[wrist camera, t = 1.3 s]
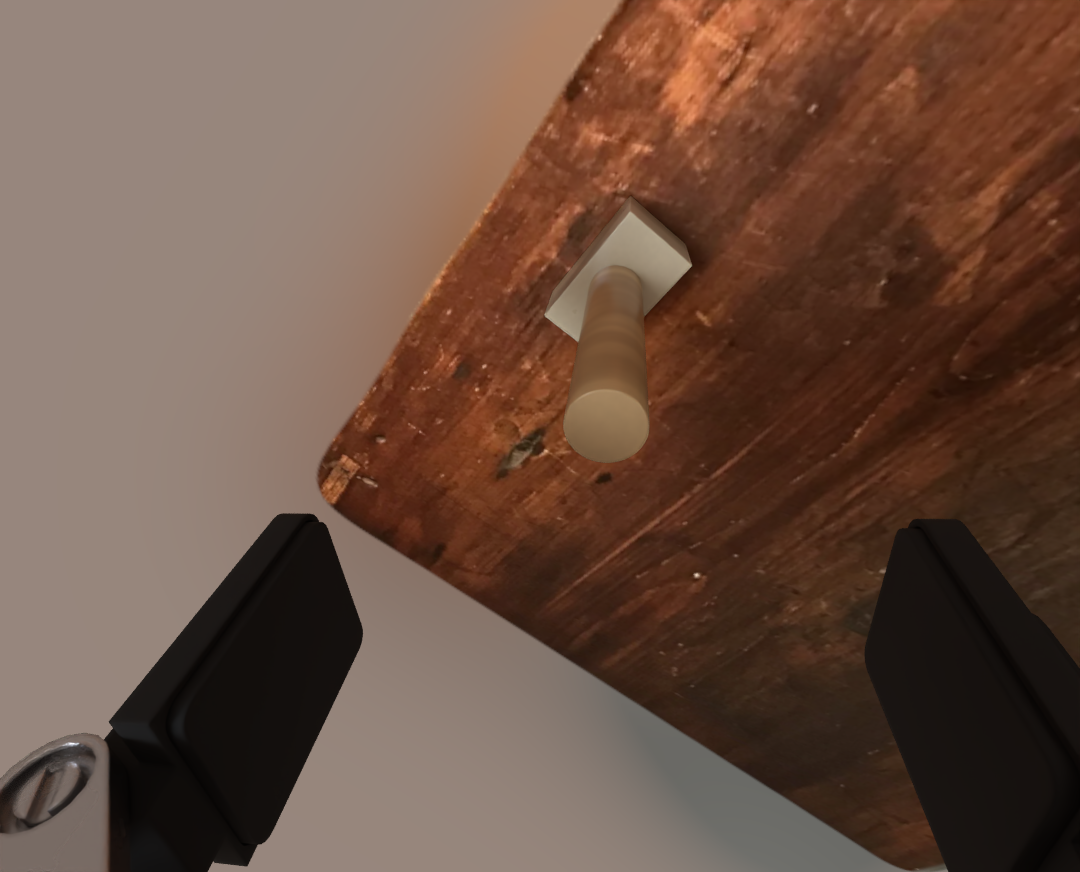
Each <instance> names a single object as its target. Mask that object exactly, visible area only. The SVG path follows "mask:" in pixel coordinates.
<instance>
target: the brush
mask: <svg viewBox="0 0 1080 872" xmlns="http://www.w3.org/2000/svg"><path fill="white" fill-rule="evenodd" d="M691 266H692V263H691V260H690V257H689V254H688V251H687V247H686V244H685V243H683V242H682V241H681V240H680V239H679V238H678V237H677V236H675V235H674V234H673V233H672V232H671V231H670V230H669V229H668V228H666V227H665V226H664V225H663V224H662V223H661V222H660V221H659V220H657V219H656V218H655V217H654V216H653V215H652V214H651V213H649V212H648V211H647V210H646V209H645V208H644V207H643V206H642V205H640V204H639V203H638V202H637V201H636V200H635V199H634V198H632V197H631V196H630V197H629V198H628V199H627V200H626V202H625V203H624V204H623V205H622V207H621V208H620V209H619V210H618V211H617V213H616V214H615V215H614V216H613V218H612V219H611V220H610V221H609V223H608V224H607V225H606V226H605V227H604V229H603V230H602V231H601V232H600V234H599V235H598V236H597V237H596V239H595V240H594V241H593V242H592V243H591V245H590V246H589V247H588V248H587V250H586V251H585V252H584V253H583V255H582V256H581V257H580V258H579V259H578V261H577V262H576V263H575V264H574V266H573V267H572V268H571V269H570V270H569V272H568V273H567V274H566V275H565V277H564V278H563V279H562V280H561V282H560V283H559V284H558V285H557V286H556V288H555V289H554V290H553V292H552V295H551V298H550V301H549V303H548V306H547V309H546V312H545V317H547V318H548V319H549V320H550V321H552V322H553V323H554V324H556V325H557V326H558V327H559V328H561V329H562V330H563V331H564V332H566V333H567V334H568V335H570V336H571V337H572V338H573V339H575V340H576V341H577V342H578V347H577V352H576V358H575V363H574V368H573V373H572V378H571V384H570V389H569V394H568V399H567V404H566V410H565V415H564V421H563V429H564V434H565V437H566V439H567V441H568V443H569V444H570V445H571V447H572V448H573V449H574V450H575V451H576V452H577V453H579V454H580V455H582V456H583V457H585V458H587V459H590V460H593V461H596V462H603V463H611V462H618V461H621V460H624V459H627V458H629V457H631V456H632V455H634V454H635V453H636V452H638V451H639V449H640V448H641V447H642V446H643V445H644V443H645V441H646V439H647V437H648V434H649V407H648V387H647V368H646V349H645V330H644V316H645V315H646V314H647V313H648V312H649V311H650V310H651V309H652V308H653V307H654V306H655V305H656V304H657V303H658V302H659V301H660V299H661V298H662V297H663V296H664V295H665V294H666V293H667V292H668V291H669V290H670V289H671V288H672V287H673V286H674V285H675V284H676V282H677V281H678V280H679V279H680V278H681V277H682V276H683V275H684V274H685V273H686V272H687V271H688V270H689V269H690V268H691Z"/></svg>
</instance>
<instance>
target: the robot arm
mask: <svg viewBox="0 0 1080 872" xmlns="http://www.w3.org/2000/svg"><path fill="white" fill-rule="evenodd" d="M362 637H363V629H362V625H361V622H360V619H359V616H358V613H357V610H356V608H355V605H354V602H353V599H352V596H351V593H350V591H349V588H348V585H347V582H346V579H345V577H344V574H343V571H342V568H341V565H340V562H339V559H338V556H337V554H336V551H335V548H334V545H333V542H332V539H331V536H330V534H329V531H328V528H327V526H326V525H325V524H324V523H323V522H319V520H318V519H317V517H316V516H315V515H313V514H279V515H277V516H276V517H275V518H274V519H273V520H272V521H271V523H270V524H269V525H268V526H267V528H266V529H265V530H264V531H263V532H262V534H261V535H260V536H259V537H258V539H257V540H256V541H255V542H254V544H253V545H252V546H251V547H250V549H249V550H248V551H247V552H246V553H245V555H244V556H243V557H242V558H241V560H240V561H239V562H238V563H237V564H236V566H235V567H234V568H233V569H232V571H231V572H230V573H229V574H228V576H227V577H226V578H225V579H224V581H223V582H222V583H221V584H220V585H219V587H218V588H217V589H216V590H215V592H214V593H213V594H212V595H211V597H210V598H209V599H208V600H207V601H206V603H205V604H204V605H203V606H202V608H201V609H200V610H199V611H198V612H197V614H196V615H195V616H194V617H193V619H192V620H191V621H190V622H189V624H188V625H187V626H186V627H185V628H184V630H183V631H182V632H181V633H180V635H179V636H178V637H177V638H176V640H175V641H174V642H173V643H172V645H171V646H170V647H169V648H168V649H167V651H166V652H165V653H164V654H163V656H162V657H161V658H160V659H159V661H158V662H157V663H156V664H155V665H154V667H153V668H152V669H151V670H150V672H149V673H148V674H147V675H146V676H145V678H144V679H143V680H142V682H141V683H140V684H139V685H138V686H137V688H136V689H135V690H134V691H133V692H132V694H131V695H130V696H129V697H128V699H127V700H126V701H125V702H124V704H123V705H122V706H121V707H120V709H119V710H118V711H117V712H116V713H115V715H114V716H113V717H112V718H111V720H110V721H109V723H110V724H111V726H112V727H113V729H112V730H111V732H110V733H109V734H108V735H107V736H106V738H105V739H104V740H103V739H102V738H101V737H99V736H98V735H94V734H88V733H81V734H74V735H68V736H65V737H63V738H60V739H57V740H55V741H52V742H49V743H47V744H46V745H44V746H42V747H40V748H39V749H37V750H35V751H33V752H32V753H30V754H28V755H27V756H26V757H25V758H23V759H22V760H21V761H19V762H18V763H17V764H16V765H14V766H13V767H11V768H10V769H9V770H8V771H7V772H6V773H5V774H4V775H3V777H1V778H0V872H208V870H209V868H210V866H211V864H212V862H213V861H214V862H215V863H221V864H230V865H239V866H248V864H249V862H250V859H251V858H252V855H253V853H254V851H255V849H256V847H257V845H258V844H262V843H264V842H265V841H266V840H267V839H268V838H269V837H270V835H271V833H272V831H273V829H274V827H275V825H276V823H277V821H278V819H279V817H280V815H281V813H282V811H283V808H284V806H285V804H286V802H287V800H288V798H289V796H290V794H291V792H292V789H293V787H294V785H295V783H296V781H297V779H298V777H299V775H300V773H301V771H302V769H303V766H304V764H305V762H306V760H307V758H308V756H309V754H310V752H311V749H312V747H313V745H314V743H315V741H316V739H317V737H318V735H319V733H320V731H321V729H322V726H323V724H324V722H325V720H326V718H327V716H328V714H329V712H330V710H331V708H332V705H333V703H334V701H335V699H336V697H337V695H338V693H339V690H340V689H341V687H342V684H343V682H344V680H345V678H346V676H347V674H348V671H349V670H350V668H351V665H352V663H353V661H354V659H355V657H356V655H357V653H358V651H359V649H360V646H361V643H362ZM865 663H866V667H867V671H868V673H869V676H870V678H871V681H872V683H873V686H874V688H875V691H876V693H877V696H878V698H879V701H880V703H881V706H882V708H883V711H884V713H885V716H886V718H887V721H888V723H889V726H890V728H891V731H892V733H893V736H894V738H895V740H896V743H897V745H898V748H899V750H900V753H901V755H902V758H903V760H904V763H905V765H906V768H907V770H908V773H909V775H910V778H911V780H912V783H913V785H914V788H915V790H916V793H917V795H918V798H919V800H920V803H921V805H922V808H923V810H924V813H925V815H926V817H927V820H928V822H929V825H930V827H931V830H932V832H933V835H934V837H935V840H936V842H937V845H938V847H939V850H940V852H941V855H942V857H943V860H944V862H945V865H946V867H947V870H948V872H1080V668H1079V667H1078V666H1077V664H1076V663H1075V662H1074V661H1073V659H1072V658H1071V657H1070V655H1069V654H1068V653H1067V651H1066V650H1065V649H1064V647H1063V646H1062V645H1061V644H1060V642H1059V641H1058V640H1057V638H1056V637H1055V636H1054V634H1053V633H1052V632H1051V630H1050V629H1049V628H1048V627H1047V625H1046V624H1045V623H1044V622H1043V621H1042V620H1041V619H1040V618H1039V617H1038V616H1036V615H1034V614H1032V613H1031V612H1030V611H1029V609H1028V608H1027V607H1026V605H1025V604H1024V603H1023V601H1022V600H1021V599H1020V597H1019V596H1018V595H1017V593H1016V592H1015V591H1014V589H1013V588H1012V587H1011V585H1010V584H1009V583H1008V581H1007V580H1006V579H1005V577H1004V576H1003V575H1002V573H1001V572H1000V571H999V569H998V568H997V567H996V566H995V564H994V563H993V562H992V560H991V559H990V558H989V556H988V555H987V554H986V552H985V551H984V550H983V548H982V547H981V546H980V544H979V543H978V542H977V540H976V539H975V538H974V536H973V535H972V534H971V532H970V531H969V530H968V528H967V527H966V526H965V525H964V524H963V523H962V522H961V521H959V520H957V519H915V520H913V521H912V522H911V523H910V524H909V526H908V528H902V529H899V530H898V531H897V533H896V536H895V540H894V543H893V547H892V550H891V554H890V558H889V561H888V565H887V569H886V572H885V576H884V580H883V583H882V587H881V591H880V594H879V598H878V601H877V605H876V609H875V612H874V616H873V620H872V623H871V627H870V631H869V634H868V638H867V642H866V645H865Z"/></svg>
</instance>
